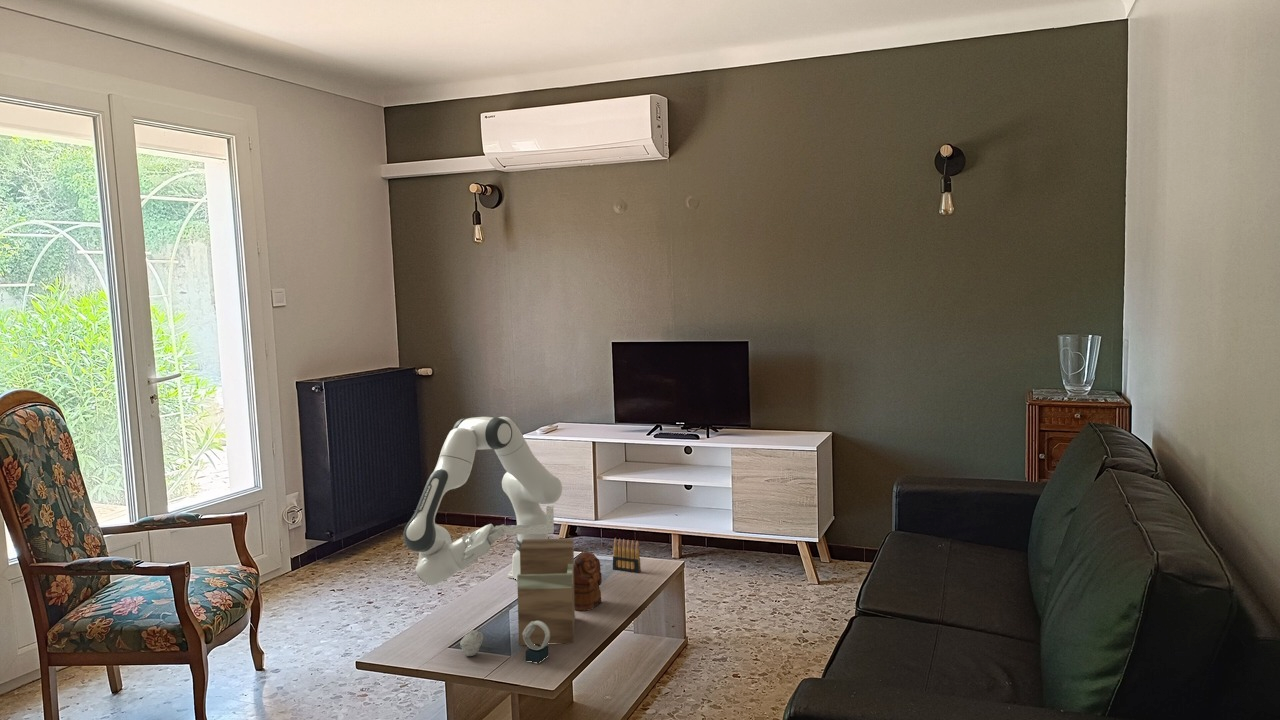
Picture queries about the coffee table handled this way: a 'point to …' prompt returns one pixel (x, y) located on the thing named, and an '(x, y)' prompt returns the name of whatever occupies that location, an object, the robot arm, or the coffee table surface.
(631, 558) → the ammunition clip
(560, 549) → the stepped shelf
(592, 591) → the wooden figurine
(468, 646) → the white rough round lump
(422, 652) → the coffee table surface
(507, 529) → the aluminium bracket
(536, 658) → the watch
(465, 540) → the robot arm
